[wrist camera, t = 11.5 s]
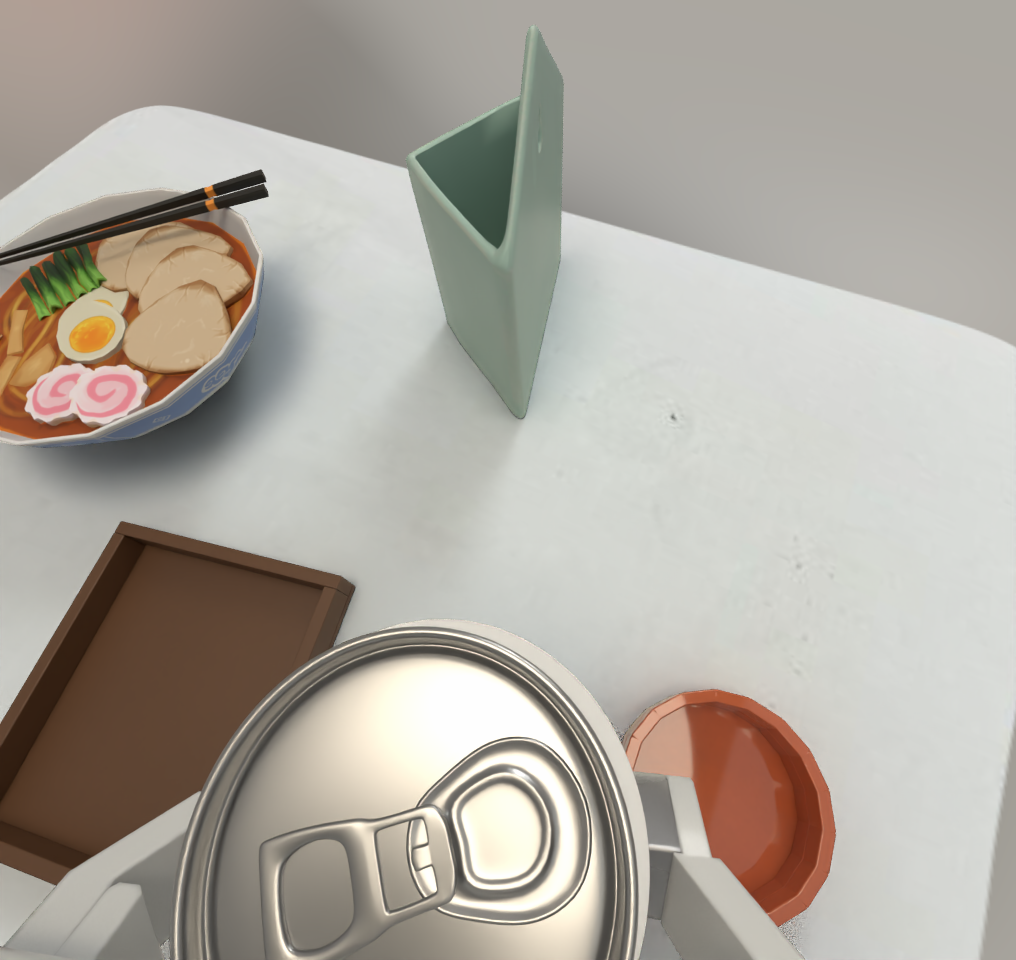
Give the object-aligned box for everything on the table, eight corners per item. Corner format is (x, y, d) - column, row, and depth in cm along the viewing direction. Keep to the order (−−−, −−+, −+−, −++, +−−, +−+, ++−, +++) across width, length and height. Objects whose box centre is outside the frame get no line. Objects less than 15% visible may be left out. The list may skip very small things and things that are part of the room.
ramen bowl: (-8, 540, 37) (-149, 493, 29) (27, 307, 46) (-72, 227, 39) (340, 438, 38) (290, 368, 31) (302, 233, 48) (257, 143, 41)
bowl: (804, 940, 24) (836, 966, 22) (596, 872, 26) (602, 889, 23) (809, 721, 28) (836, 719, 25) (627, 673, 30) (635, 668, 27)
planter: (470, 248, 45) (418, -61, 28) (561, 256, 44) (567, -62, 26) (420, 405, 39) (308, 132, 21) (524, 419, 38) (501, 142, 20)
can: (625, 862, 16) (790, 1145, 5) (419, 934, 15) (122, 1412, 5) (556, 649, 19) (566, 539, 8) (379, 706, 18) (134, 674, 7)
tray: (227, 924, 26) (196, 943, 24) (-20, 828, 29) (-68, 836, 27) (355, 586, 33) (341, 576, 31) (147, 533, 36) (120, 520, 34)
